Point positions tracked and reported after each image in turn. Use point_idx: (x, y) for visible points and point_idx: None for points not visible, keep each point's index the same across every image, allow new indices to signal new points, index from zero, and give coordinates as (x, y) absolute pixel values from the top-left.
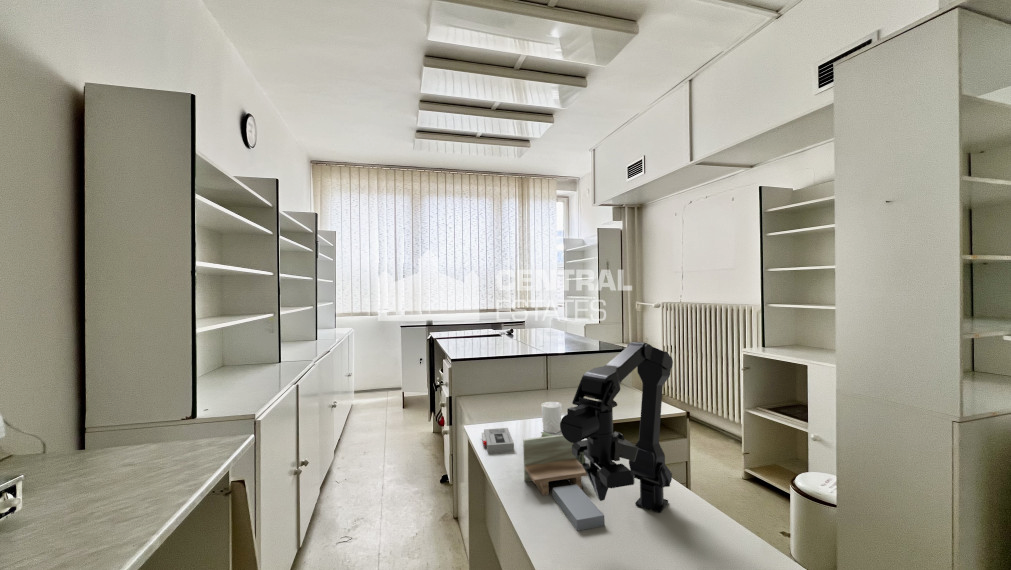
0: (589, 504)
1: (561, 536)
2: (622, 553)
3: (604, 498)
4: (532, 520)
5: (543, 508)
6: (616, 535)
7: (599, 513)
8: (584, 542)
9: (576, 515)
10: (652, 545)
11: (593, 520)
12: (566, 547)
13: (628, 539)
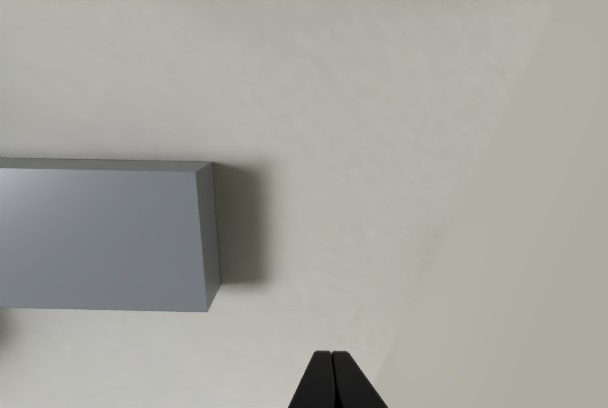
0: (75, 198)
1: (240, 347)
2: (414, 187)
3: (355, 364)
4: (120, 399)
5: (37, 341)
6: (295, 147)
7: (173, 188)
8: (299, 289)
9: (169, 299)
10: (421, 19)
11: (206, 227)
12: (307, 354)
13: (339, 109)
